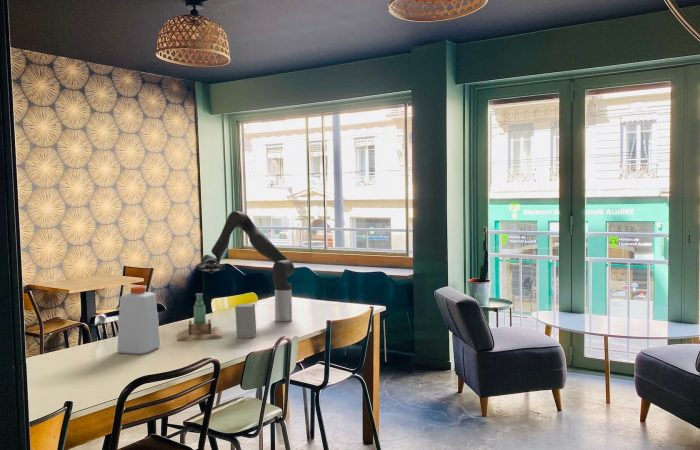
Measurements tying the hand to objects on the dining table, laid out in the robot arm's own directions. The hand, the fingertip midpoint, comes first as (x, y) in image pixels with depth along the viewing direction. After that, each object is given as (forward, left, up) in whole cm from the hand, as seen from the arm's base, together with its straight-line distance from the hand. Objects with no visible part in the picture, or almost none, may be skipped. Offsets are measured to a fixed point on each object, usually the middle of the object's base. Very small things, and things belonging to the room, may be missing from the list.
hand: (211, 268), depth 290 cm
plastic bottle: (+24, +48, -30) cm, 62 cm away
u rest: (+2, +23, -30) cm, 38 cm away
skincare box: (-21, +29, -30) cm, 47 cm away
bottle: (+2, +23, -29) cm, 37 cm away
